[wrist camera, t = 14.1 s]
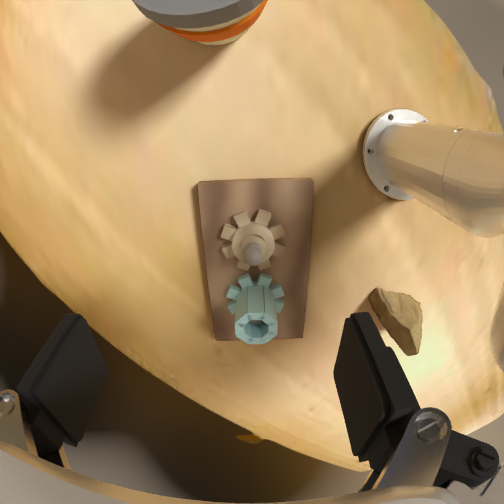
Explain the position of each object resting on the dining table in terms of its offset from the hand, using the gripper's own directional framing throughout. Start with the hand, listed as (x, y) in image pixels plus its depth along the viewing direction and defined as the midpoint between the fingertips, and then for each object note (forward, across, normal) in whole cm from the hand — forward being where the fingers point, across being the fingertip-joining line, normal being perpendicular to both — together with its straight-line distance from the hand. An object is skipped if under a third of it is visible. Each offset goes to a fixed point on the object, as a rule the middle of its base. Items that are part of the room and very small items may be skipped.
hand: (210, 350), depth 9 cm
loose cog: (+27, -2, +16) cm, 32 cm away
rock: (+29, -25, +20) cm, 43 cm away
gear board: (+28, -2, +12) cm, 31 cm away
